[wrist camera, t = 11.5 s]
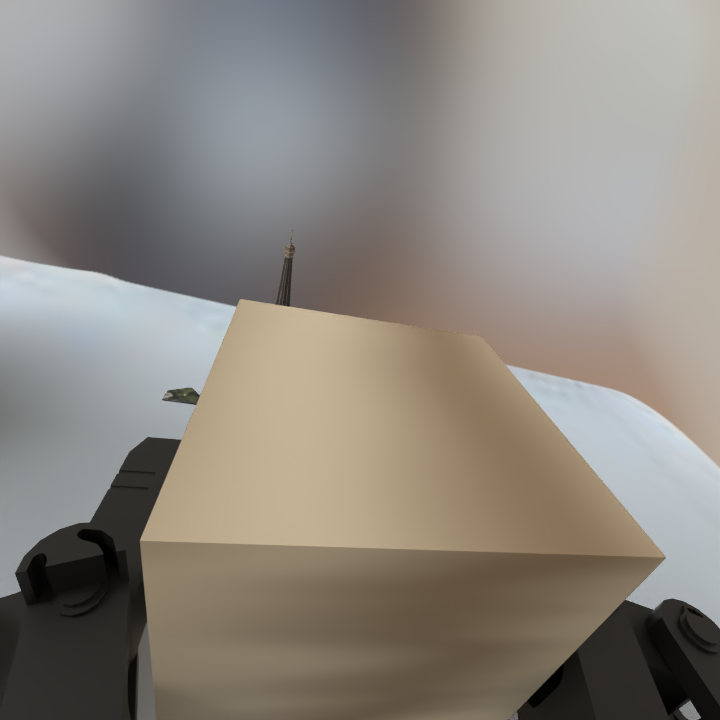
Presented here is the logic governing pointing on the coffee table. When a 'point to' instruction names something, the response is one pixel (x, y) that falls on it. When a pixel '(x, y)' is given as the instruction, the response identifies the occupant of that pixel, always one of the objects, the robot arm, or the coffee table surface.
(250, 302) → the oak block
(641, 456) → the coffee table surface
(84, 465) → the coffee table surface
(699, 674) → the robot arm
